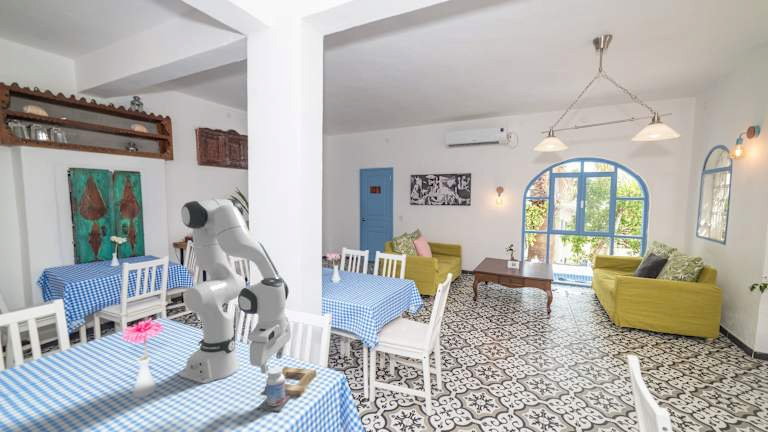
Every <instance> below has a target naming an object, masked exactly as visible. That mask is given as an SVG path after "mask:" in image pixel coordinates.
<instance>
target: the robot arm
mask: <svg viewBox="0 0 768 432" xmlns="http://www.w3.org/2000/svg"><path fill="white" fill-rule="evenodd" d="M180 215H181V216H180V217H181V220H182V222H183V224H184V226H185V227H186V228H189V229H192V245H193V251H194V257H195V263H196V267H198V268H199V270H201V271H205V272H207V274H208V276H209V277H210V279H209V280H205V281H202V282H198V283H196V284H194V285H193V286H191V287H189V288H187V290H185V292H184V295H183V302H184V305H185V307H186V309H188V310H189V311H191V312H193V313H195V314H197V316H198V317H199V318H200V322H201V325H202V333H203V334H202V335H203V336H202V337H203V338H202V339H201V340H200V341H198V342H197V343H198V344H197V345H198V346H200V348H198V349H197V350H196V351H194V352H193V353H192V354H191V355H190V356H189V357H188V358H187V361H186V366H185V367H184V368H183V369H182V370H181V371H180V372H179V377H180V378H184V379H186V380H190V381H194V382H197V383H200V384H208V383H210V382H212V381H217V380H220V379H224V378H227V377H229V376H231V375H233V374H235V373H236V372H237V371H238V370H239V369H240V363H239V360H238V357H237V354H236V353H237V352H236V348H235V347H236V335H235V333H234V332H235V331H234V318H233V315H232V314H230V313H229V312H226V311H224V309H223V304H225V303H228V302H230V301H233V300H235V299H237V303H238V304H237V305H238V308H239V309H240V310H241V311H242V312H243V313H245V314H247V315H248V314H249V315H258V322H257V323H256V324H255V326H254V329H252V331H251V332H250V334H249V336H248V339H249V341H251V342H250V344H249V363H250V365H251V366H255V367H259V368H260V373H261V374H266V373H268V371H269V366H268V365H267V363H268V360H269V359H271V358H272V356H274V355H276V357H275V358H276V359H278V360H280V359H282V358H283V357H284V350H285V347H286V344H288V342H289V341H290V340H291V338H292V333H291V331H292V330H291V323H290V322H289V318H288V317H287V316H286V312H285V307H286V301H287V299H288V296H289V293H290V290H289V287H288V284H287V283H286V281H285V280H284V279H283V277H282V276H281V275H280V273H279V271H278V270H277V268H276V266H275V264H274V262H273V260H272V259H271V257H270V256H269V253H268V252H267V250H266V249H265V247H264V245H262V243H260V242H259V241H257V240H256V239H255V238H254V236H253V235H252V234H251V232H250V231H249V227H248V226H247V223H246V220H245V219H244V216H243V215H244V208H243V206H242V204H241V202H240V201H239V200H237V199H234V198H233V199H232V198H226V199H225V198H224V199H223V198H211V199H204V200H199V201H198V200H194V201H193V200H192V201H188V202H186V203H184V204H183V206H182V207H181V213H180ZM227 255H229V256H231V257H233V258H241V259H245V260H247V261H251V262H252V263H253V264H254V265H256V267H257V269H258V271H259V272H260V274H261V276H262V279H261V280H260V281H259V282H257V283H255V284H251V285H249V286H246V281H245V279H244V277H243V276H241V275H240V274H238V273H237V272H236V271H235V270H234V269H233V268H232V266H231V265H230V262H229V260H228V257H227Z"/></svg>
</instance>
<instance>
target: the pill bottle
mask: <svg viewBox="0 0 768 432" xmlns="http://www.w3.org/2000/svg"><path fill="white" fill-rule="evenodd" d="M282 369H283V368H282V367H281V366H273V367H271V368H268V371H267V375H268V376H267V377H266V381H265V382H266V385H265V386H266V391H267V392H266V398H267V404H268V405H269V406H278V405H280V404H282V403H283V402H284V401H285V384H286V382H285V381H286V379H285V377H284V375H283V374H282Z"/></svg>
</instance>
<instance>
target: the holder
mask: <svg viewBox="0 0 768 432" xmlns="http://www.w3.org/2000/svg"><path fill="white" fill-rule="evenodd" d="M282 374H283V375H284V377H285V380H286V379H287V377H289V378H297V379H298V378H299V379H300V380H299V382H298V383H297V384H296V385H295V384H288V383H285V395H289V396H291V397H292V396H294V397H301V396H302V394H304V393H305V391H306V389H307V388H308V387H309V385H310V384H311V383H312V382H313V380H314V379H315V377H316V376H317V370H316V369H308V368H297V367H288V366H284V367H283V368H282ZM264 393H267V391H266V385H265V386H264Z"/></svg>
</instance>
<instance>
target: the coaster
mask: <svg viewBox="0 0 768 432" xmlns="http://www.w3.org/2000/svg"><path fill="white" fill-rule="evenodd" d="M291 398H292V395H285V401H284V402H283V403H282V404H280V405H278V406H269V405H268V404H267V397H266V398H265V399H264V400H263V401H262V403H260V404H259V406H258V407H257V410H258V409H263V410H262V411H266V410H271V411H270V412H273V411H276V412H275V413H281V411H282V410H283V408H284V407H285V406H286V405H287V403H288V402H289V401H290V400H291ZM281 409H282V410H281Z"/></svg>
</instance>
